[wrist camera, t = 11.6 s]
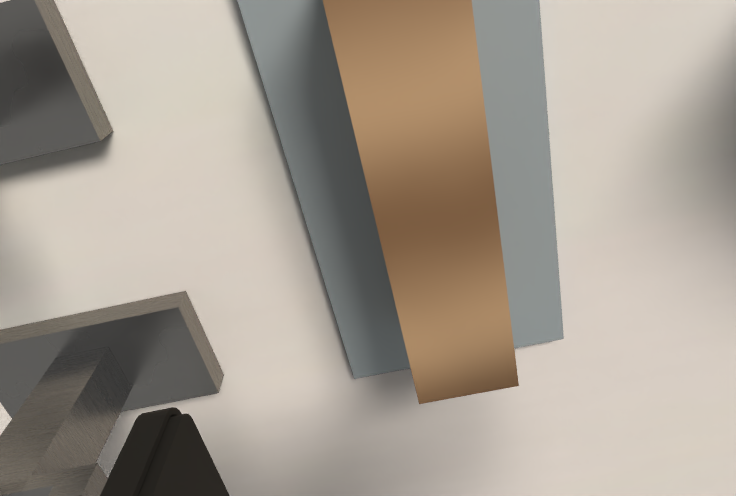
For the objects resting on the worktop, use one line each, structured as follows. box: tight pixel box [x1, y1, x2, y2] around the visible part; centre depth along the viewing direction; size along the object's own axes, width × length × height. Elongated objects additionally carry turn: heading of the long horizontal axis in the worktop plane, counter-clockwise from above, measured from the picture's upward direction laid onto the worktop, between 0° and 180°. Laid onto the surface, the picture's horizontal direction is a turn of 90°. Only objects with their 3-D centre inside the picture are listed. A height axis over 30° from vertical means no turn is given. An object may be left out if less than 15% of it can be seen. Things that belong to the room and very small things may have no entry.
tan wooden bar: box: [323, 0, 519, 404], centre depth 16 cm, size 12×3×4 cm, turn 13°
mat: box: [237, 0, 564, 379], centre depth 18 cm, size 16×8×1 cm, turn 13°
